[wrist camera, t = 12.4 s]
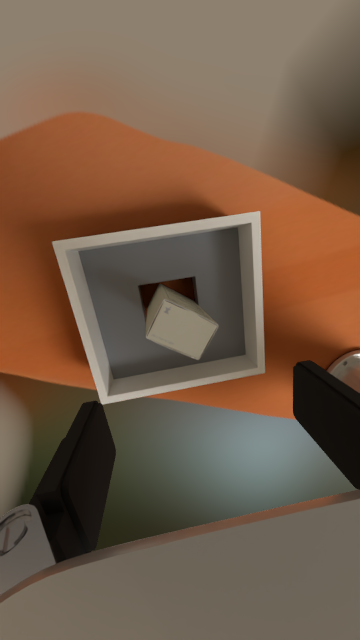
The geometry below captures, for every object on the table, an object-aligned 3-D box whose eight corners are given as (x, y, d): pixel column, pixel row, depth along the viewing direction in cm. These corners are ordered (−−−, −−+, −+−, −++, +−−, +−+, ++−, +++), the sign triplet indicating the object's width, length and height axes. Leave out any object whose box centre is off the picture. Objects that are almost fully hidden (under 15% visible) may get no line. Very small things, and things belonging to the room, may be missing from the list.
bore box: (236, 221, 30) (260, 211, 23) (244, 351, 36) (265, 372, 29) (76, 245, 28) (51, 241, 22) (112, 375, 34) (101, 404, 28)
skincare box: (146, 308, 32) (141, 338, 20) (159, 281, 31) (162, 296, 19) (183, 325, 33) (198, 363, 22) (197, 300, 32) (220, 325, 21)
